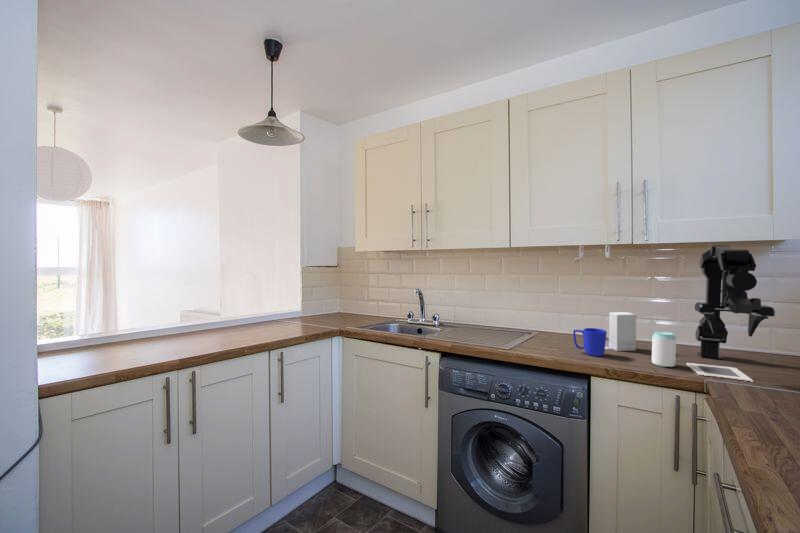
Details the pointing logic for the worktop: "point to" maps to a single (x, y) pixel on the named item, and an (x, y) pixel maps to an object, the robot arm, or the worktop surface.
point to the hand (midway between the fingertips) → (731, 335)
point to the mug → (592, 341)
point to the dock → (718, 371)
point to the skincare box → (622, 331)
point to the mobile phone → (607, 345)
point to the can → (663, 349)
